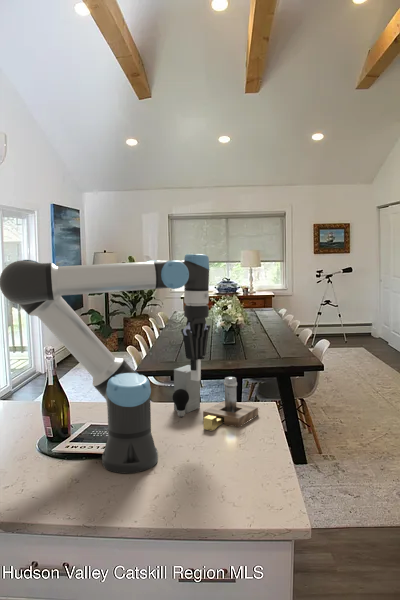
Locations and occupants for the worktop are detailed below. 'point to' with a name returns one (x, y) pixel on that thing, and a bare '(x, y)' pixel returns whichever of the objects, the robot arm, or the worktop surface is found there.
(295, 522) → the worktop surface
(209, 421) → the lock pin
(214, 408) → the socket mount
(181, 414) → the light bulb
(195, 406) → the skincare box
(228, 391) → the cylinder
